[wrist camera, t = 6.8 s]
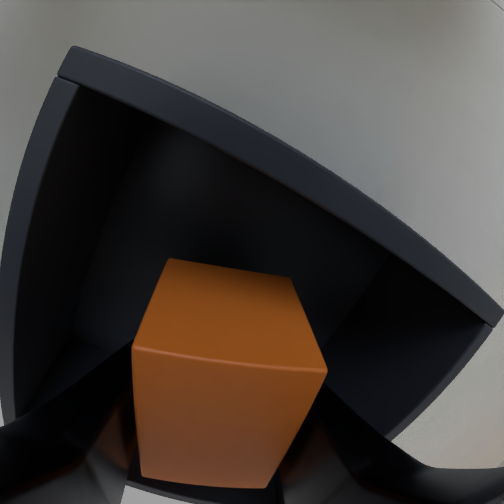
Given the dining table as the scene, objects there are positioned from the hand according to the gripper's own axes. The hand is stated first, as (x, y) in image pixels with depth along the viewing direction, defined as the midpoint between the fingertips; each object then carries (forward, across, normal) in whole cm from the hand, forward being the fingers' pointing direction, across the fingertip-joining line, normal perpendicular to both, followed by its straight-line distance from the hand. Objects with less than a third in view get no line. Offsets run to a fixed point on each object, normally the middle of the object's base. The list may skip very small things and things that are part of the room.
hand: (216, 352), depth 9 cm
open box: (+4, 0, 0) cm, 4 cm away
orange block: (+1, 0, 0) cm, 1 cm away
